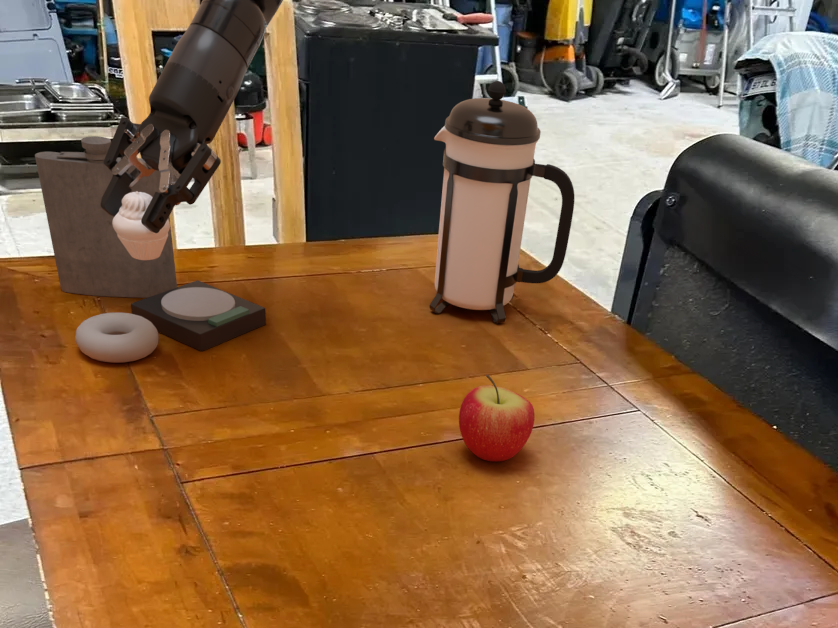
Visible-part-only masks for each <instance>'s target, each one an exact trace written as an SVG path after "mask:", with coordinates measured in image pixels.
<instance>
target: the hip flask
mask: <svg viewBox="0 0 838 628" xmlns="http://www.w3.org/2000/svg"><path fill="white" fill-rule="evenodd" d="M80 142H81V147H82V148H83V149H84V151H83V152H82V151H81V152H80V151H60V152H58V151H57V152H56V151H40V152H37V153H35V154H34V158H35V163H36V168H37V173H38V178H39V184H40V189H41V193H42V199H43V205H44V209H45V214H46V221H47V225H48V229H49V234H50V239H51V244H52V249H53V250H52V251H53V255H54V261H55V266H56V271H57V277H58V281H59V286H60V290H61V291H62V292H64V293H68V294H73V295H74V294H75V295H83V296H97V297H110V298H111V297H112V298H133V299H134V298H138V299H139V298H143V299H145V298H148V297H151V296H154V295H157V294H160V293H163V292H165V291H168V290H171V289H174V288H177V287H178V283H177V282H178V280H177V271H176V263H175V254H174V253H175V252H174V245H173V236H172V227H171V226H172V225H171V224H170V229H169V231H168V237H167V240H166V242H165V245H164V247H163V250H162V252H161V255H160V256H159V257H158V258H156V259H153V260H138V259H135V258H133V257H132V256H131V255H130V254H129V252H128V251H127V249H126V248H125V247H124V245H123V244H122V242H121V241H120V239H119V238H118V236H117V233H116V231H115V230H114V228H113V224H112V221H113V218H114V216H111V215H110V214H108V213H107V212H106V211H105V210H104V209H102V208H101V205H100V204H101V200H102V196H103V194H104V193H105V191H106V189H107V187H108V185H109V183H110V181H111V179H112V176H113V174H112V172H111V171H110V169H109V168H108V167H107V166H106V165H104V159H105V157H106V154H107V152H108V149H109V147H110V144H111V142H112V140H111V139H110V138H108V137H106V136H105V137H104V136H96V135H95V136H85V137H83V138H81V139H80ZM137 158H138V159H139V160H141V161H142V162H143V163H146V162H145V161H144V160H143V159H142V158H141V157H137ZM120 160H121V157H117V160H116V161H117V162H119V161H120ZM135 168H136V167H135V166H131V167H130V168H129V170H128V173H129V174H130V173H131V172H132V171H133V170H134V169H135ZM160 177H161V174H160V171H157V170H155V171H154V172H153V173H152V174H151V175H150V176H148V177H145V176H144V177H142V178H141V179H140V180H139V181H138V182H137V183H136V184H135V185H134V186H133V187H131V189H132V191H131V193H132V192H136V191H138V192H144V193H146V194H149V195H150V196H152V197H153V196H154V194H155V192H158V193H160V191H159V185H160ZM168 219H169V222H170V223H171V216H169V217H168Z"/></svg>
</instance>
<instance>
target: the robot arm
mask: <svg viewBox="0 0 838 628" xmlns="http://www.w3.org/2000/svg"><path fill="white" fill-rule="evenodd" d="M283 1H284V0H202V1H201V3H200V5H199V6H198V8H197V11H196V12H195V14H194V16H193V18H192V19H191V22H190V23H189V26H188V27H187V29H186V30H185V32H184V33H183V35H182V36H181V37H180V39H179V40H178V41H177V43H176V45H175V46H174V48H173V50H172V52H171V54H170V55H169V58H168V60H167V62H166V63H165V65H164V68H163V69H162V71H161V73H160V75H159V77H158V79H157V81H156V82H155V85H154V86H153V87H152V90H151V92H150V94H149V96H148V103H149V106H150V112H149V114H148V115H147V117H145V119H143V121H141V123H135V122H133V121H132V120H130V119H129V118H128V117H127V116H123V117H122V118H121V119H119V122H118V125H117V126H116V127H117V128H116V129H115V132H114V135H113V136H112V140H111V144H110V147H109V149H108V152H107V154H106V157H105V159H104V165H106V166H107V167H108V168H109V169H110V171H111V172H112V174H113V176H112V179H111V181H110V183H109V185H108V187H107V189H106V191H105V193H104V194H103V196H102V200H101V204H100V205H101V208H102V209H104V210H105V211H106V212H107V213H108V214H110V215H111V216H114V217H115V215H116V214H117V213H118V212H119V209H120V207H121V206H122V199H123V197H124V196H125V195H126V194H128V193H131V191H132V189H131V187H133V186H134V185H135V184H136V183H137V182H138V181H139V180H140V179H141V178H142V177H144V176H145V177H148V176H150V175H151V174H152V173H153V172H154V171H155V170H157V171H160V174H161V177H160V185H159V191H160V193H158V192H155V194H154V196H153V198H152V200H151V202H150V204H149V205H148V207H147V209H146V211H145V213H144V215H143V217H142V219H141V222H142V224H143V225H144V226H145V227H146V228H147V229H148V230H150V231H151V232H154V233H158V232H159V231H160V229H162V228H163V227H164V225H165V223H166V221H167V219H168V217H169V216H170V215H171V214H172V212H173V210H174V208H175V207H176V206H179V205H180V204H181V203H187V205H194V204H195V203H196V201H197V200H198V198H199V197H200V195H201V194H202V192H203V191H204V189H205V188H206V187H207V185H208V183H209V182H210V180H211V179H212V177H213V175H214V174H215V172H216V171H217V170H218V168H219V166H220V165H221V163H222V160H221V158H220V157H219V156H218V154H216V152H215V151H214V150H213V149H212V148H211V147H210V146H209V144H211V143H212V142H213V141H214V139H215V138H216V135H217V134H218V131H220V130H219V129H220V127H221V126H222V124H223V122H224V120H225V118H226V116H227V114H228V112H229V111H230V109H231V108H232V107H231V106H232V105H233V103H234V101H235V99H236V97H237V95H238V93H239V91H240V89H241V86H242V83H243V81H244V78H245V75H246V73H247V71H248V69H249V67H250V66H251V63H252V62H253V59H254V57H255V55H256V54H257V52H258V50H259V48H260V45H261V43H262V41H263V39H264V37H265V34H266V30H267V27H268V26H269V25H270V23H271V21H272V20H273V18H274V16H275V15H276V13H277V12H278V10H279V8H280V7H281V5H282V3H283ZM119 155H121V157H120V158H121V160H120V161H119V162H117V161H116V160H117V158H119ZM138 155H140V158H142V159H143V160H144V161H145V162H146V163H143V162H142V161H141V160H139V159H138V158H139V157H138ZM131 166H135V167H136V168H135V169H134V170H133V171H132V172H131V173H130V174H129V173H128V170H129V168H130V167H131ZM192 180H193V183H192V185H191V186H190V187H188V186H189V184H190V183H191V181H192ZM170 217H171V216H170Z"/></svg>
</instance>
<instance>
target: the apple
mask: <svg viewBox="0 0 838 628" xmlns="http://www.w3.org/2000/svg"><path fill="white" fill-rule="evenodd" d="M485 376H486V378H487V379H488V381H490V382H491V384H492V385H490V384H489V385H488V384H486V385H479V386H476V387H474V388H472V389H471V390H470V391H469V392H468V393H467V394H466V395H465V397H464V398H463V400H462V402H461V404H460V408H459V413H458V427H459V431H460V436H461V438H462V440H463V443H464V444H465V446H466V447H467V448H468V450H469V451H470V452H471V453H472V454H473V455H475V456H476V457H478V459H479V458H480V459H481V460H484V461H487V462H505V461H507V460H510V459H512V458H513V457H515V456H516V455H517V454H518V453H519V452H520V451H521V450H522V449H523V448H524V447H525V445H526V443H527V442H528V441H529V439H530V436H531V434H532V431H533V428H534V425H535V415H536V414H535V408H534V406H533V404H532V403H531V401H530V400H528V399H527V398H526V397H525V396H523V395H521V394H519V393H517V392H515V391H513V390H511V389H508V388H506V387H501V386H497V385H496V383H495V381H494V380H493V378H492V377H491V376H490V375H489V373H486V375H485Z"/></svg>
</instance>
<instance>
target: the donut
mask: <svg viewBox="0 0 838 628" xmlns="http://www.w3.org/2000/svg"><path fill="white" fill-rule="evenodd" d="M74 340H75V343H76V345H77V347H78V349H79V350H80V351H81V352H82V353H83V354H84V355H86V356H87V357H89V358H91V359H92V360H96V361H98V362H104V363H113V364H115V363H116V364H119V363H123V364H124V363H129V362H134V361H139V360H141V359H144V358H146V357H148V356H149V355H151V354H152V353H153V352H154V351H155V350H156V348H157V347H158V345H159V332H158V331H157V329H156V328H155V326H154V325H153V324H152V323H151V322H150V321H149V320H147V319H145V318H143V317H142V316H138V315H135V314H132V313H129V312H121V311H120V312H115V311H114V312H104V313H100V314H97V315H93V316H90V317H88V318H86V319H84V320H83V321H82V322H81V323H80V324H79V325H78V326H77V328H76V330H75V337H74Z"/></svg>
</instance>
